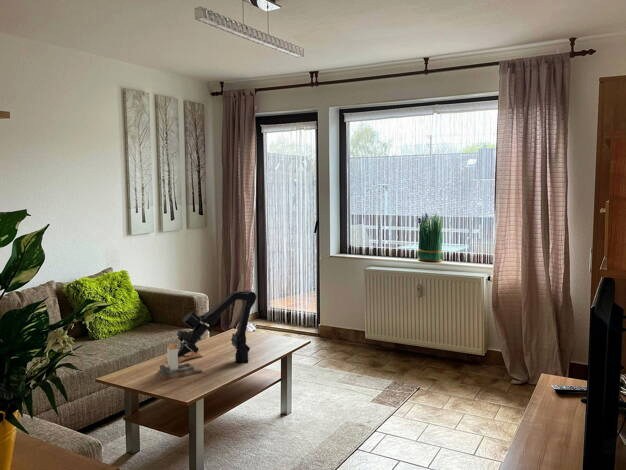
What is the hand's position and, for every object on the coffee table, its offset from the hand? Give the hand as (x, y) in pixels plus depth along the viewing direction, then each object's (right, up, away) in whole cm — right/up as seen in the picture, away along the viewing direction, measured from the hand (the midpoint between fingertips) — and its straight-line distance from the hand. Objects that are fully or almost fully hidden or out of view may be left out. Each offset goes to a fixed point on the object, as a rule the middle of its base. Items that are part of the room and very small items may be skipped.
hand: (177, 357), depth 279 cm
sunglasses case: (-1, -7, +24) cm, 25 cm away
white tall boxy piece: (-2, -7, -1) cm, 7 cm away
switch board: (+1, -8, +1) cm, 9 cm away
